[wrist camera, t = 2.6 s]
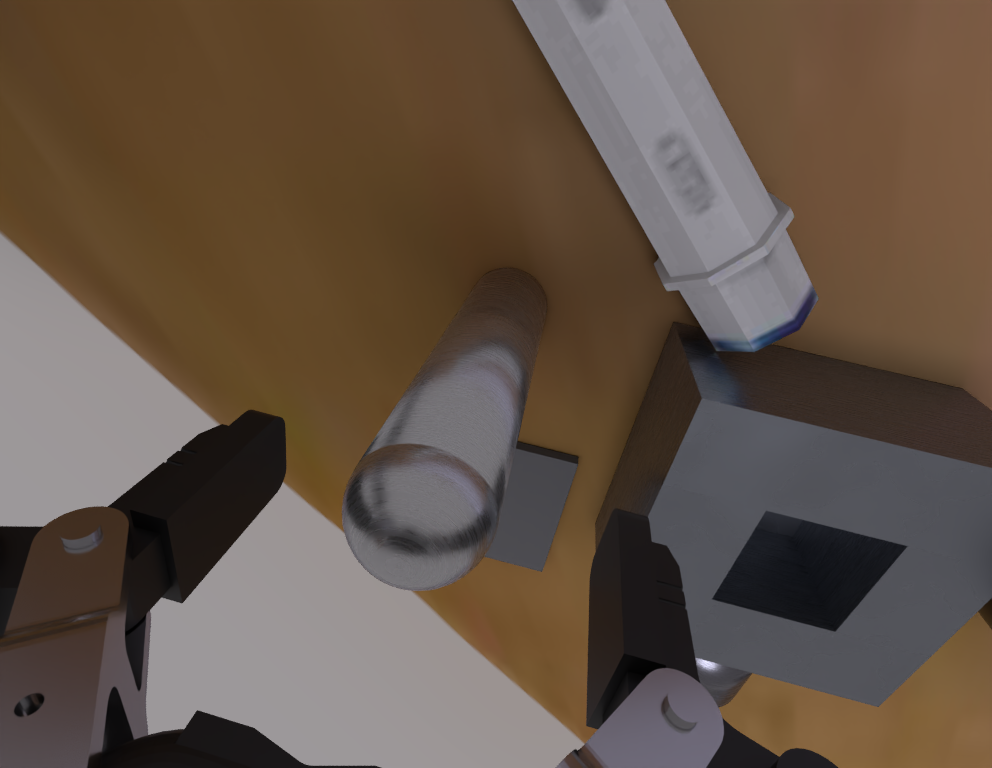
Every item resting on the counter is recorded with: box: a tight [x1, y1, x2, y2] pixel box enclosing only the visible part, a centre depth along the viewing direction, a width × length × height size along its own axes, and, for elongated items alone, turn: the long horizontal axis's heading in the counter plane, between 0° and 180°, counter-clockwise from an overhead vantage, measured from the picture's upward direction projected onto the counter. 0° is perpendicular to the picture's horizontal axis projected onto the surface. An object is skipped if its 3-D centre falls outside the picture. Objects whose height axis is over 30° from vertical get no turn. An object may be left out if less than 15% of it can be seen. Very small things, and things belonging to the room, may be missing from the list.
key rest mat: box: [484, 442, 578, 572], centre depth 28 cm, size 8×8×1 cm
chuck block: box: [596, 322, 992, 707], centre depth 22 cm, size 12×16×6 cm
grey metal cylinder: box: [342, 268, 547, 591], centre depth 16 cm, size 3×3×15 cm
